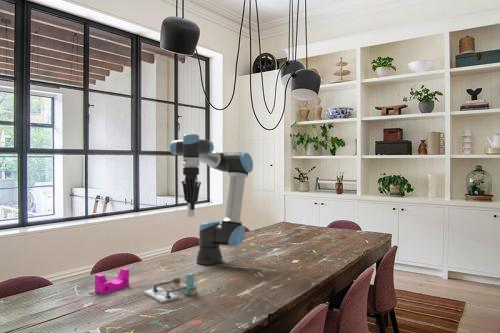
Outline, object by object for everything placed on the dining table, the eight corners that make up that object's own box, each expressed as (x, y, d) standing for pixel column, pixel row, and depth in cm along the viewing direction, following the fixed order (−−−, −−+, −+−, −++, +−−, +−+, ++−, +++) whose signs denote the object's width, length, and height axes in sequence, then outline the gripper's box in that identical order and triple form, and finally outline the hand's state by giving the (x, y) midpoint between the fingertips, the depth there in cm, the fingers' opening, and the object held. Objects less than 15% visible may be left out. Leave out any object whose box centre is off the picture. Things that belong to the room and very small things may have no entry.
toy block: (102, 294, 167) (102, 277, 167) (94, 291, 171) (94, 274, 171) (132, 286, 179) (132, 270, 179) (124, 283, 183) (124, 267, 183)
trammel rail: (176, 285, 179) (176, 276, 179) (195, 294, 167) (195, 284, 167) (150, 291, 170) (150, 281, 170) (169, 301, 158) (169, 290, 158)
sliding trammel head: (192, 290, 170) (192, 272, 170) (196, 292, 168) (196, 273, 168) (165, 298, 161) (165, 278, 161) (168, 300, 159) (168, 280, 159)
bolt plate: (159, 289, 173) (159, 286, 173) (178, 299, 161) (178, 295, 161) (143, 293, 168) (143, 290, 168) (161, 303, 156) (161, 300, 156)
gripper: (176, 166, 183) (176, 215, 183) (192, 167, 173) (192, 218, 174) (190, 166, 188) (190, 214, 188) (205, 166, 178) (205, 217, 179)
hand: (191, 216), depth 181 cm, fingers closed
